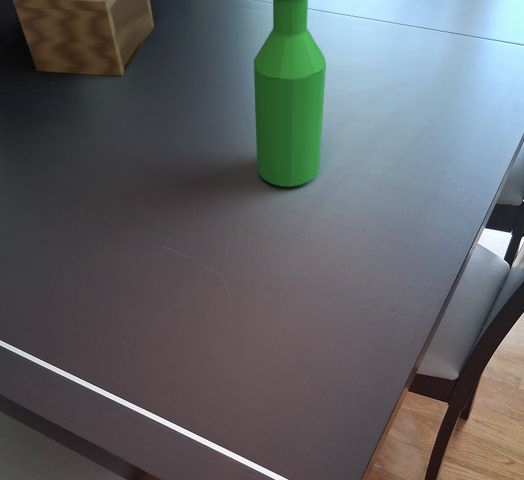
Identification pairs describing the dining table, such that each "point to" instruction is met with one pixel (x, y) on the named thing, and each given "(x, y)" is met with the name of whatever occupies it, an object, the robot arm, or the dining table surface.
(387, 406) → the dining table surface
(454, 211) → the dining table surface
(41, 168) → the dining table surface
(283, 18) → the bottle
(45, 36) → the wood grain cube
